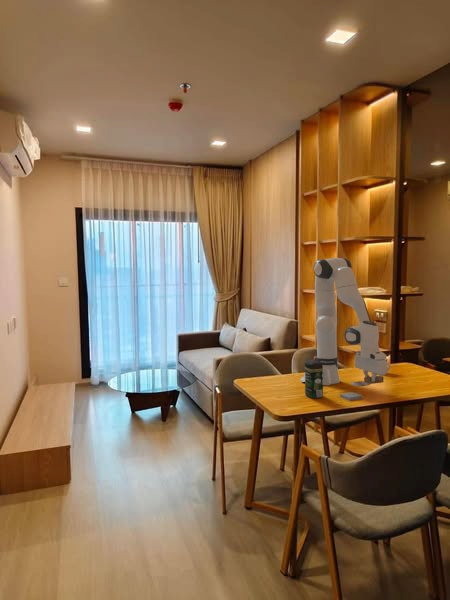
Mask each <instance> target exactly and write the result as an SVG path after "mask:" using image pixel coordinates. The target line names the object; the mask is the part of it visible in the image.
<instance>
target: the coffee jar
mask: <svg viewBox="0 0 450 600" xmlns="http://www.w3.org/2000/svg"><path fill="white" fill-rule="evenodd" d="M322 371H323V365H322V363H320V362H318V361H315V360H314V359H306V360H305V361H304V374H305V383H304V394H305V395H306V396H307V397H308V398H311V399H320V398H323V397H324V385H323V382H322Z"/></svg>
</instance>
